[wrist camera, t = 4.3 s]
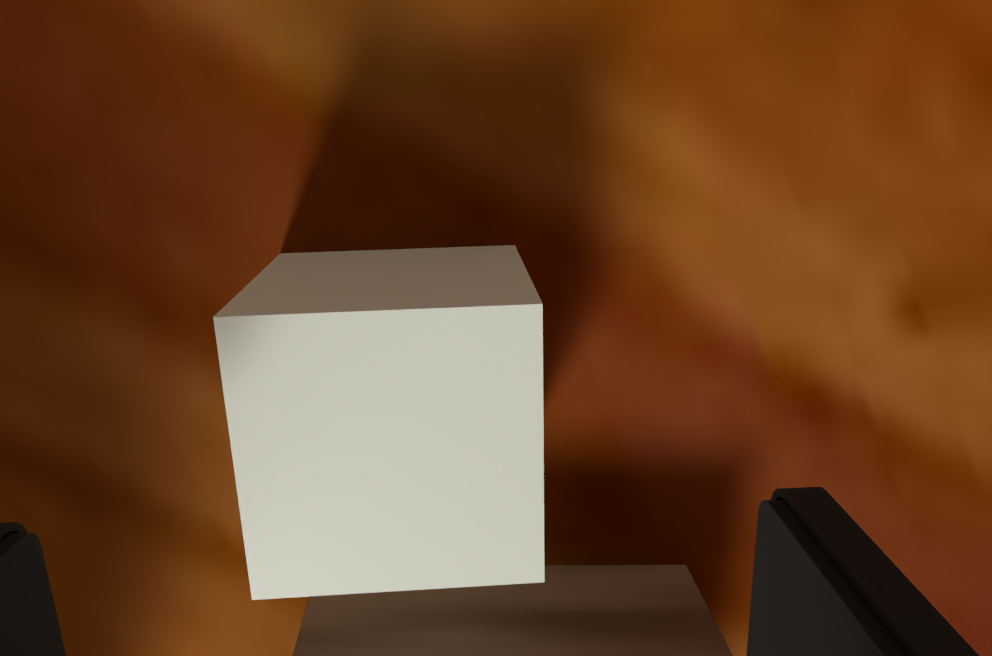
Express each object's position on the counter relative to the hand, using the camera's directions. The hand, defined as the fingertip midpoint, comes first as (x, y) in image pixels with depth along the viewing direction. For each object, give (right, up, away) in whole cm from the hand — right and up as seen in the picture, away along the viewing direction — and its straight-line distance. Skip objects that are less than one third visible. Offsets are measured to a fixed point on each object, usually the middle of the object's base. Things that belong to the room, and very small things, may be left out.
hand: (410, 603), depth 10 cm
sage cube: (-1, +3, +9) cm, 9 cm away
